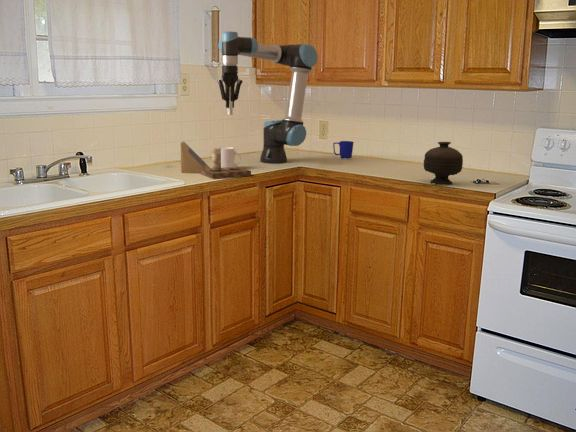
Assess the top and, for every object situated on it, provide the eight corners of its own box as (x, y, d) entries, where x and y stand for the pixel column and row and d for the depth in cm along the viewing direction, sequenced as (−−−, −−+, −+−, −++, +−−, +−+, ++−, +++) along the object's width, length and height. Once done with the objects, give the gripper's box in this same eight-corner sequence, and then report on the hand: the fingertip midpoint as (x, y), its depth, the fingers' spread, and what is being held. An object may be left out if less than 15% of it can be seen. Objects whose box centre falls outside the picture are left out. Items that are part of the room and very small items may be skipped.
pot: (415, 182, 267) (421, 139, 264) (427, 180, 282) (433, 139, 279) (453, 188, 258) (460, 143, 255) (463, 185, 273) (470, 143, 270)
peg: (218, 174, 279) (218, 148, 276) (222, 176, 276) (222, 149, 272) (210, 175, 277) (210, 148, 274) (214, 176, 273) (214, 149, 270)
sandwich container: (212, 174, 282) (212, 143, 279) (181, 173, 282) (180, 142, 278) (214, 171, 290) (214, 141, 287) (183, 170, 290) (183, 140, 287)
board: (238, 171, 290) (238, 166, 289) (250, 175, 278) (251, 170, 278) (201, 174, 279) (201, 169, 279) (213, 178, 268) (213, 173, 267)
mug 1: (238, 170, 293) (238, 149, 290) (215, 169, 295) (215, 148, 292) (242, 168, 301) (242, 147, 298) (220, 166, 303) (220, 146, 300)
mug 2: (333, 156, 351) (333, 140, 349) (352, 157, 349) (353, 141, 347) (332, 158, 343) (332, 141, 341) (352, 159, 342) (353, 142, 339)
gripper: (238, 65, 282) (238, 114, 288) (214, 64, 276) (214, 114, 281) (245, 65, 276) (245, 115, 282) (220, 64, 270) (221, 115, 275)
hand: (229, 114), depth 282 cm, fingers closed
